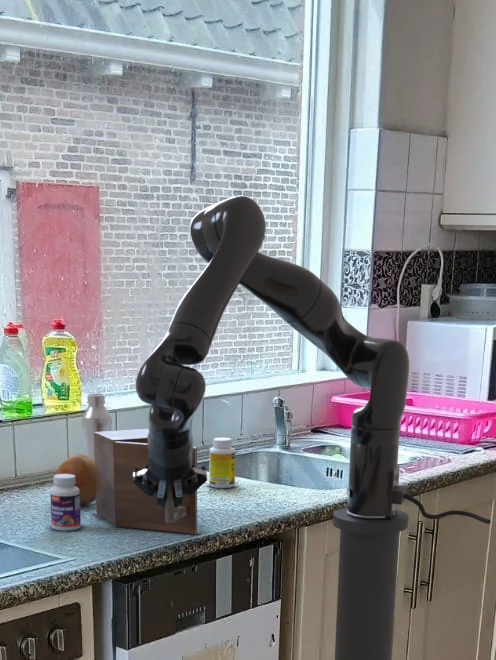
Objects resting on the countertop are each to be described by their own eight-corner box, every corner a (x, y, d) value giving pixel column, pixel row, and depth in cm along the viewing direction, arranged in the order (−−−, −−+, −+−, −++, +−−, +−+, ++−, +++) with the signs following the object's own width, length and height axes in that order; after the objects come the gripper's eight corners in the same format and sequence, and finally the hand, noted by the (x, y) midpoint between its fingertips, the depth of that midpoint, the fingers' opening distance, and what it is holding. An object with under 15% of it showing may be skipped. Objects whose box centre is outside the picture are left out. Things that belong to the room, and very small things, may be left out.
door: (181, 542, 214) (180, 454, 208) (100, 534, 219) (97, 447, 213) (197, 533, 221) (197, 447, 215) (118, 525, 226) (115, 441, 220)
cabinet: (192, 517, 233) (192, 434, 227) (115, 525, 226) (113, 440, 220) (171, 507, 241) (170, 427, 235) (96, 514, 234) (93, 432, 228)
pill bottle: (47, 530, 222) (45, 477, 218) (57, 523, 227) (54, 472, 223) (76, 531, 221) (74, 479, 217) (84, 525, 226) (82, 473, 222)
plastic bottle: (84, 494, 252) (80, 396, 244) (83, 487, 258) (79, 392, 251) (115, 493, 253) (112, 396, 245) (113, 487, 259) (110, 392, 252)
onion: (56, 499, 246) (54, 450, 243) (105, 499, 247) (103, 450, 244) (53, 510, 237) (51, 459, 234) (104, 509, 238) (102, 459, 235)
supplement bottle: (235, 489, 259) (235, 441, 255) (209, 488, 259) (209, 441, 255) (234, 483, 264) (235, 436, 260) (209, 483, 264) (209, 436, 260)
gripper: (209, 427, 201) (206, 484, 217) (127, 429, 200) (130, 486, 216) (212, 465, 198) (208, 520, 214) (129, 468, 197) (131, 522, 213)
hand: (169, 503), depth 215 cm, fingers closed on door, 2 cm apart
